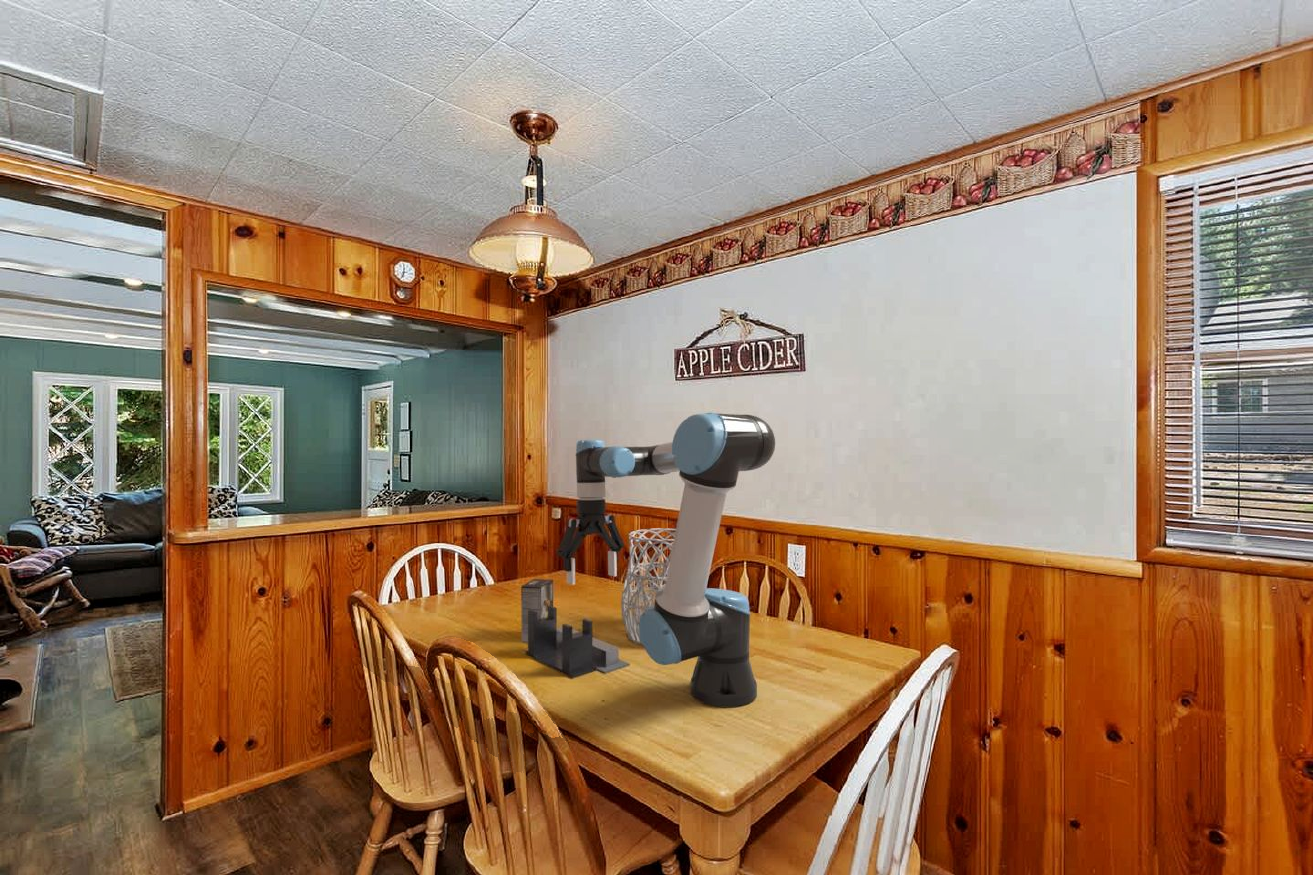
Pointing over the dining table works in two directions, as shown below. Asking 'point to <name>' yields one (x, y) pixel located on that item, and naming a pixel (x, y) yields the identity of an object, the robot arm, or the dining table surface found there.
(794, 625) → the dining table surface
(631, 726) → the dining table surface
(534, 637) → the rack
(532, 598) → the coffee box
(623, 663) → the mat
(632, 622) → the vase
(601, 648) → the rail
